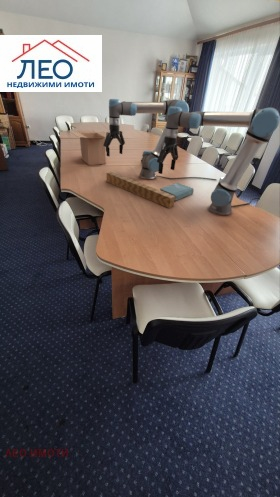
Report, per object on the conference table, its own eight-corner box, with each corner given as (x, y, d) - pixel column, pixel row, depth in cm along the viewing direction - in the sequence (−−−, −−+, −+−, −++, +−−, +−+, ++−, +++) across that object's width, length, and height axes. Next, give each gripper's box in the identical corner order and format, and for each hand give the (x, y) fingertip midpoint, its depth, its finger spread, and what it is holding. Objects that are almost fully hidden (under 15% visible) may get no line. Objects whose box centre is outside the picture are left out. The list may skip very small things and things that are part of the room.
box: (116, 165, 229) (116, 136, 213) (83, 168, 214) (80, 137, 198) (102, 154, 259) (101, 128, 243) (71, 156, 244) (68, 129, 228)
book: (176, 188, 187) (177, 182, 184) (192, 194, 178) (193, 188, 175) (159, 194, 174) (160, 188, 171) (175, 201, 165) (176, 195, 162)
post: (106, 181, 190) (106, 172, 186) (110, 180, 194) (110, 171, 189) (169, 208, 156) (170, 198, 151) (173, 206, 159) (174, 196, 155)
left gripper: (104, 126, 152) (105, 158, 164) (129, 124, 167) (129, 153, 180) (97, 124, 156) (99, 156, 168) (123, 122, 171) (122, 151, 184)
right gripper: (163, 139, 126) (159, 176, 138) (187, 135, 141) (181, 169, 154) (153, 137, 129) (150, 173, 142) (177, 133, 145) (172, 166, 157)
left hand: (114, 154), depth 174 cm, fingers open, 13 cm apart
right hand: (166, 171), depth 148 cm, fingers open, 13 cm apart
